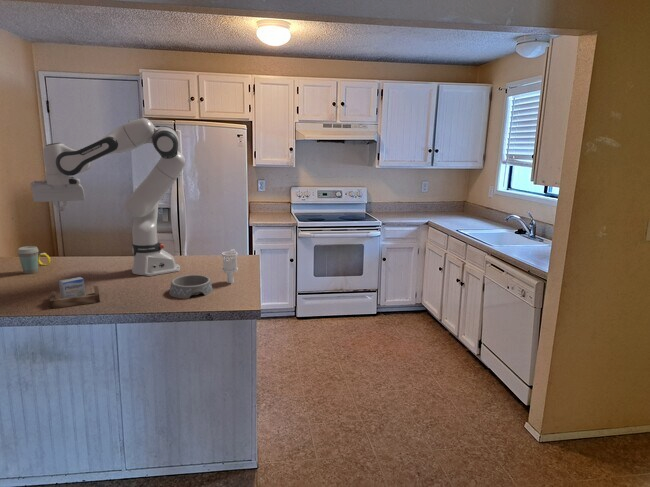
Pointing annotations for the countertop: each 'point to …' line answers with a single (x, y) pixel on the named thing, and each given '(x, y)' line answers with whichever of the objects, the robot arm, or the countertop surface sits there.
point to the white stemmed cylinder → (230, 264)
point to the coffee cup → (29, 259)
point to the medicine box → (72, 287)
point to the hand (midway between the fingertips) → (61, 211)
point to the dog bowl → (190, 286)
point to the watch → (46, 256)
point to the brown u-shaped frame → (74, 299)
